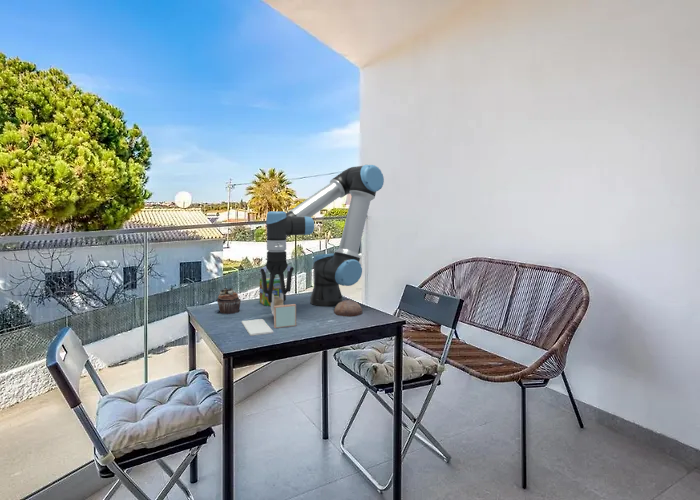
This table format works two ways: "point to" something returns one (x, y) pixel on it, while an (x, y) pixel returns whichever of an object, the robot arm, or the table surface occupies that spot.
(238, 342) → the table surface
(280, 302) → the beige boxy piece
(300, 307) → the table surface
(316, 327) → the table surface
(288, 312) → the tile
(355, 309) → the decorative stone
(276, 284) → the chalk box
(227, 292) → the cupcake
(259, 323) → the mat
